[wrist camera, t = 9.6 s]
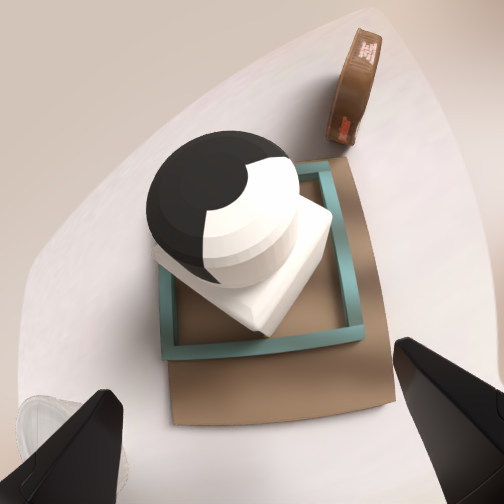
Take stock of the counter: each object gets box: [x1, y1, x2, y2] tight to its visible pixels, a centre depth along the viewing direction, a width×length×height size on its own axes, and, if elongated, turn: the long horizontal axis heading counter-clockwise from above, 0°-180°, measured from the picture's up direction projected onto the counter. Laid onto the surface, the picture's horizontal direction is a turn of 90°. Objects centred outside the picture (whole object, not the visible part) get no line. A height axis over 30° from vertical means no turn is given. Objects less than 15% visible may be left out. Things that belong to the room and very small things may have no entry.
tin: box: [326, 28, 382, 146], centre depth 23 cm, size 15×3×8 cm, turn 157°
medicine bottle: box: [146, 131, 332, 338], centre depth 16 cm, size 7×7×12 cm
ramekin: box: [16, 395, 128, 494], centre depth 17 cm, size 11×11×5 cm
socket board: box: [159, 157, 396, 425], centre depth 21 cm, size 20×16×2 cm
